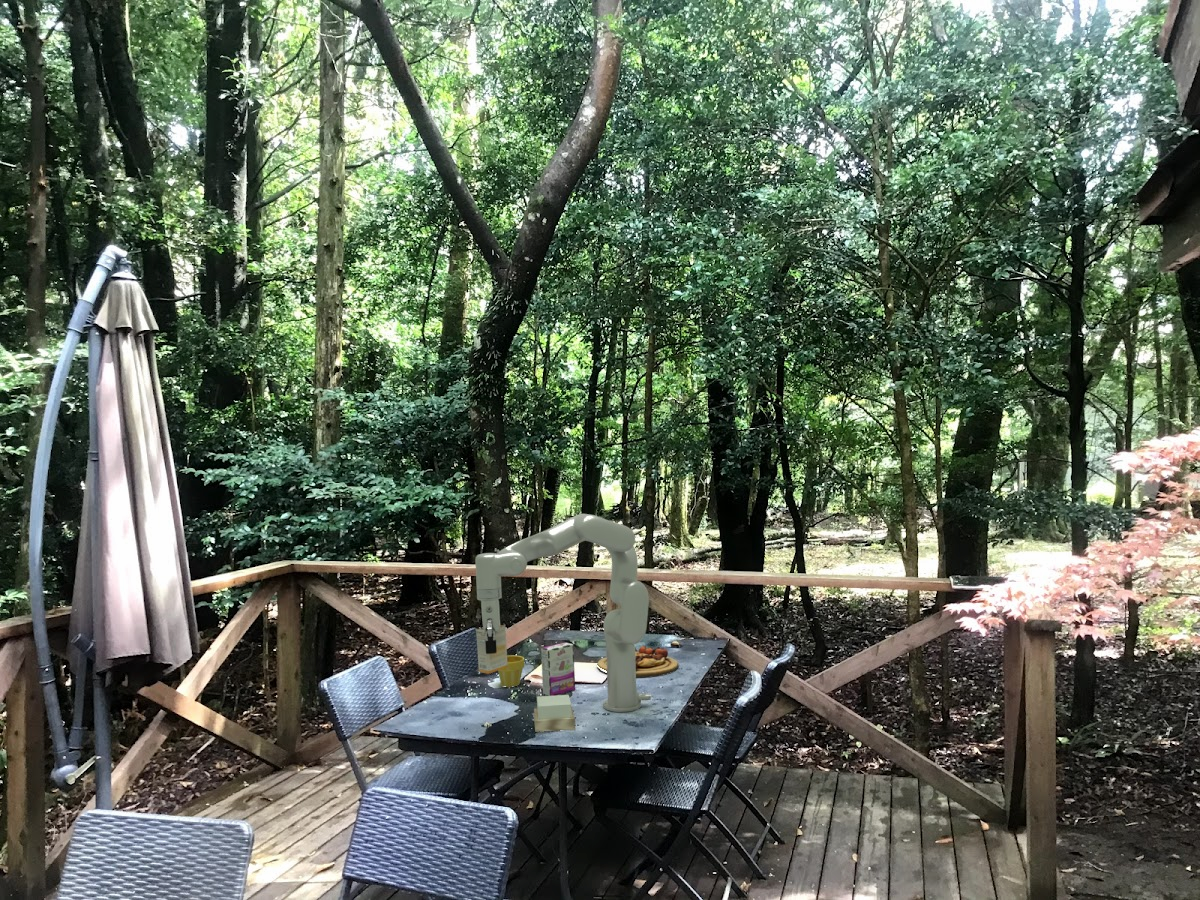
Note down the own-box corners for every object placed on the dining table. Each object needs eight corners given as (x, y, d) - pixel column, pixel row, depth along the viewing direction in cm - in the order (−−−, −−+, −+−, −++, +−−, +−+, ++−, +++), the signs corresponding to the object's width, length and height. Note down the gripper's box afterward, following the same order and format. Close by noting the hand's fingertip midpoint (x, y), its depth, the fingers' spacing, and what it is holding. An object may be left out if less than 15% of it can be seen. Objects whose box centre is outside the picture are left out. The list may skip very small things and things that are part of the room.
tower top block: (569, 707, 245) (568, 694, 245) (571, 717, 235) (571, 704, 235) (537, 709, 243) (536, 696, 243) (538, 719, 233) (538, 706, 233)
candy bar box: (567, 687, 279) (565, 641, 279) (575, 690, 275) (574, 644, 275) (541, 694, 271) (540, 647, 272) (550, 697, 268) (548, 649, 268)
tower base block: (572, 718, 246) (571, 706, 246) (575, 731, 234) (574, 718, 234) (534, 721, 244) (533, 708, 244) (535, 734, 232) (534, 720, 233)
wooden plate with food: (656, 683, 283) (655, 660, 283) (581, 672, 299) (581, 650, 299) (691, 664, 310) (691, 643, 310) (621, 655, 326) (621, 635, 327)
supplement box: (497, 665, 243) (495, 623, 244) (508, 667, 240) (505, 625, 240) (477, 672, 237) (475, 629, 237) (488, 674, 234) (486, 630, 234)
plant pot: (528, 687, 280) (527, 660, 281) (500, 691, 277) (499, 663, 277) (520, 680, 290) (519, 653, 290) (493, 683, 286) (492, 657, 286)
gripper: (500, 597, 231) (503, 655, 230) (502, 588, 248) (504, 642, 248) (475, 599, 230) (478, 657, 230) (478, 589, 247) (481, 643, 247)
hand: (491, 649), depth 239 cm, fingers closed on supplement box, 9 cm apart
